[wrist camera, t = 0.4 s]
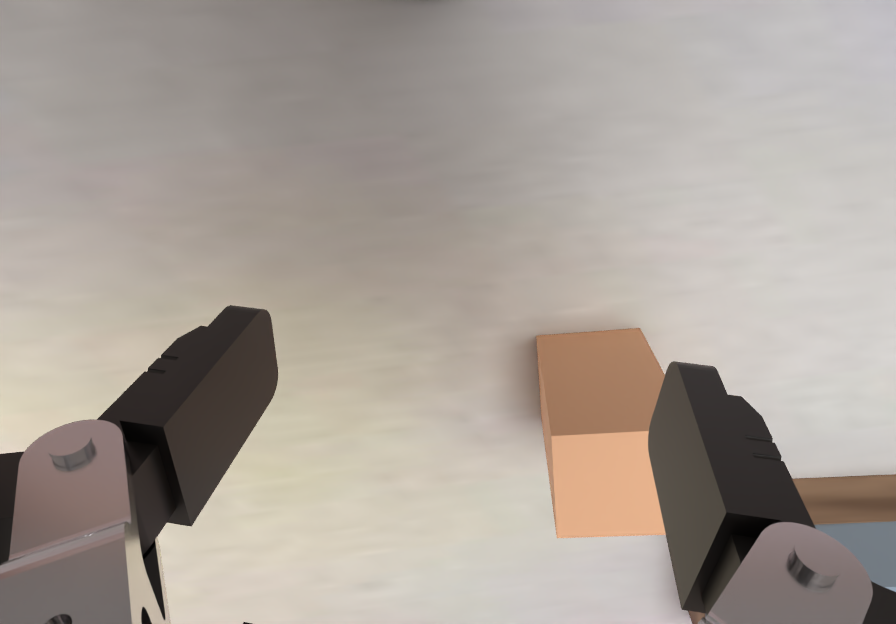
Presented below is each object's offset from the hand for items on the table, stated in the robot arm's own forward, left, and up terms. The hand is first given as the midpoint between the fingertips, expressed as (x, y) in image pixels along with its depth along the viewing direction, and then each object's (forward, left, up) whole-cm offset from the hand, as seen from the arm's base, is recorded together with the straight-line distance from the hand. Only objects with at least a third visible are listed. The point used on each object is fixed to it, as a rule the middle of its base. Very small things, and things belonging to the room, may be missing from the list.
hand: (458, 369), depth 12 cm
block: (+11, +5, -18) cm, 22 cm away
